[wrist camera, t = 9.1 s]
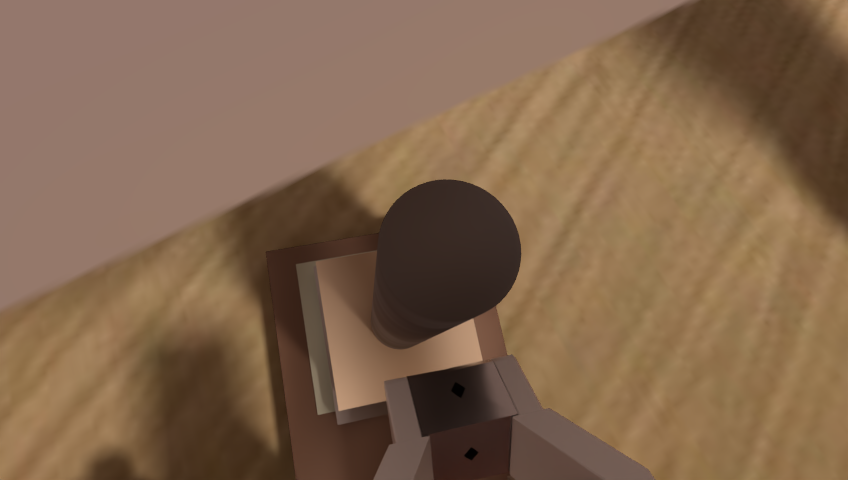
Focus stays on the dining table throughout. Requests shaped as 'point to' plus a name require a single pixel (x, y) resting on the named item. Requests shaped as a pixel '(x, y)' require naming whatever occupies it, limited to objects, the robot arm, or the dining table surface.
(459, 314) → the rod on wooden block
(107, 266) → the dining table surface
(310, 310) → the tunnel track
